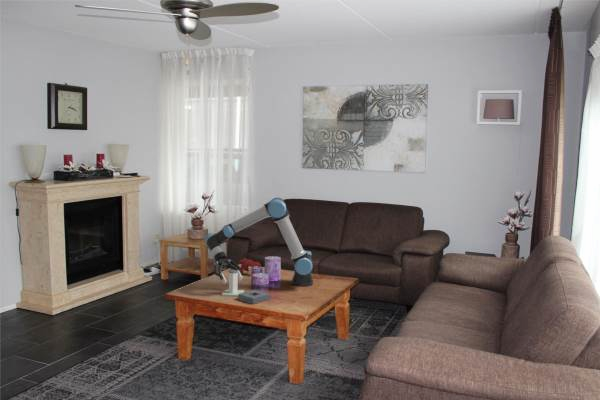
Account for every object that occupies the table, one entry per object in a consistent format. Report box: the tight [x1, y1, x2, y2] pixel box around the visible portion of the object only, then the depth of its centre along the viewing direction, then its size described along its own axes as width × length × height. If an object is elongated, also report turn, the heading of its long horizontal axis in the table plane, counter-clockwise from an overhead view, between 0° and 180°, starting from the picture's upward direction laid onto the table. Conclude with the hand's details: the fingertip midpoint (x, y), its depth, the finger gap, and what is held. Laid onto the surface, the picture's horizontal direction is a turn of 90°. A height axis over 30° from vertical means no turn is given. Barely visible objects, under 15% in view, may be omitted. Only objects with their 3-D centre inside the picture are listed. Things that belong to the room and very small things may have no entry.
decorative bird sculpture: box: [236, 257, 262, 275], centre depth 395 cm, size 28×9×15 cm
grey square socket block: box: [237, 289, 271, 305], centre depth 329 cm, size 14×14×4 cm
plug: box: [227, 269, 239, 293], centre depth 340 cm, size 5×5×14 cm
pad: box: [221, 288, 245, 298], centre depth 341 cm, size 12×12×1 cm
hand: (233, 281), depth 340 cm, fingers open, 13 cm apart
